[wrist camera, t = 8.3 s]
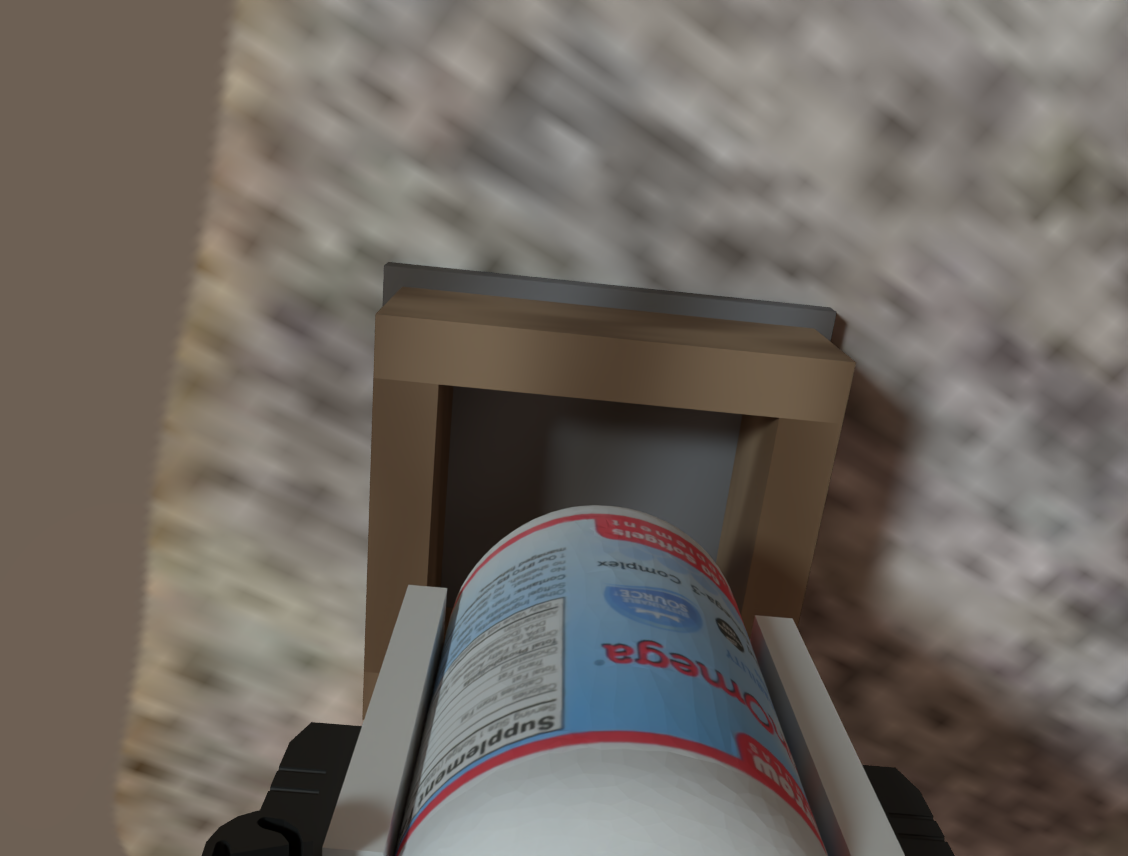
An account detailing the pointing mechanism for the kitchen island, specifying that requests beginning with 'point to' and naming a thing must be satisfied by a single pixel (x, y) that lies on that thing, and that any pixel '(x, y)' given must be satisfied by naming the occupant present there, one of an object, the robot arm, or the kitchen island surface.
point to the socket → (594, 427)
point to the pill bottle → (602, 706)
